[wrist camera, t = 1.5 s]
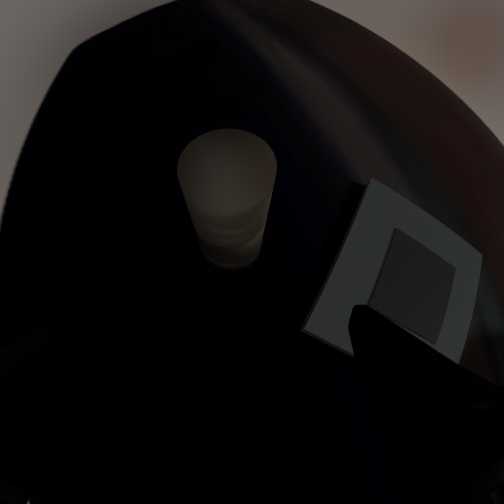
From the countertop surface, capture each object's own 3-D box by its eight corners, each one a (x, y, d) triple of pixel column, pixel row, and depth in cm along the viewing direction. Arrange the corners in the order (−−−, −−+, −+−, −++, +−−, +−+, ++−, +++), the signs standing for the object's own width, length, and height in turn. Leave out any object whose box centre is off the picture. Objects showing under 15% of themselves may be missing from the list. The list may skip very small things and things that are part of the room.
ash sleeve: (215, 281, 23) (196, 225, 12) (192, 229, 24) (164, 147, 14) (271, 256, 24) (296, 185, 13) (245, 207, 25) (250, 118, 15)
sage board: (436, 396, 20) (447, 397, 18) (299, 330, 22) (304, 328, 20) (474, 259, 25) (483, 254, 23) (365, 185, 27) (372, 176, 25)
